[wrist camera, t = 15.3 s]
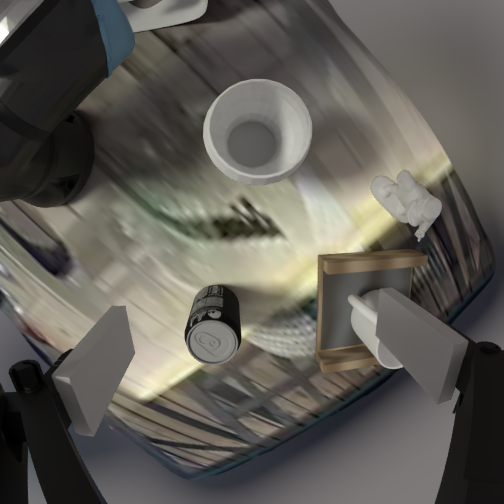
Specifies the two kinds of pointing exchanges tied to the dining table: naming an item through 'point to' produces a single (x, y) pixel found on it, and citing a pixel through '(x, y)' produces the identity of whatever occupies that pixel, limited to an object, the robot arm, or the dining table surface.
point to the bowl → (163, 13)
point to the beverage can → (214, 326)
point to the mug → (370, 327)
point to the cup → (258, 132)
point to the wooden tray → (357, 282)
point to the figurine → (407, 201)
